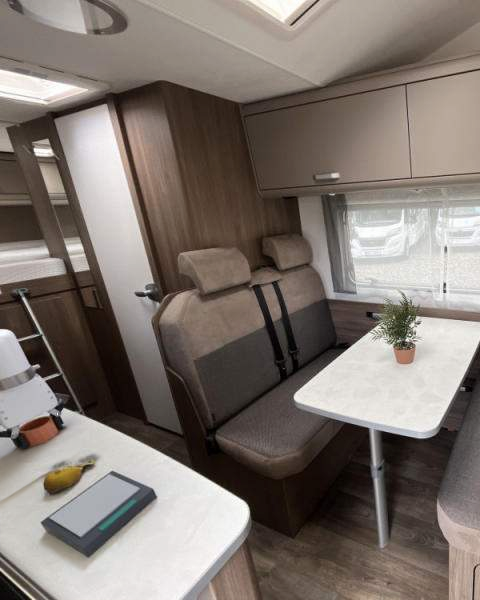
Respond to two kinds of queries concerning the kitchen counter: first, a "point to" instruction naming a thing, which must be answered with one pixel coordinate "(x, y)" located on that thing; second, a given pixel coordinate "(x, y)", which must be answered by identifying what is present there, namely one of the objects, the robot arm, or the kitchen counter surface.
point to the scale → (99, 512)
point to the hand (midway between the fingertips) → (42, 436)
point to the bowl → (38, 430)
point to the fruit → (63, 477)
